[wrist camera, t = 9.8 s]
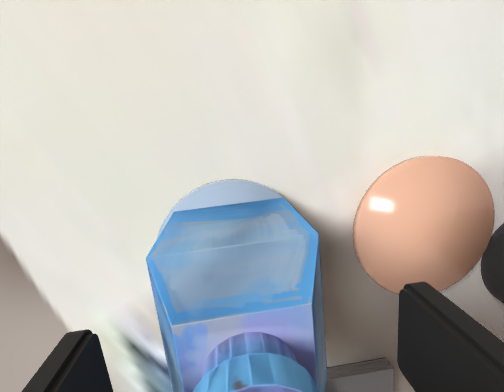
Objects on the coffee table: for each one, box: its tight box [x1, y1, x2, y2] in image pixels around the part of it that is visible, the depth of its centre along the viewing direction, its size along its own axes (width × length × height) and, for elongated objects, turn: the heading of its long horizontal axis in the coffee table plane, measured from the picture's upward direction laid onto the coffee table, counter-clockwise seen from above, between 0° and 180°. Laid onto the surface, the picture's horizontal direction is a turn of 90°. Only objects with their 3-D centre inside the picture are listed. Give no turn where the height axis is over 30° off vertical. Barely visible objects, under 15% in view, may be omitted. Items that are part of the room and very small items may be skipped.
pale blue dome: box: [157, 179, 292, 239], centre depth 18 cm, size 9×9×1 cm
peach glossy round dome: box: [353, 156, 494, 294], centre depth 19 cm, size 9×9×1 cm
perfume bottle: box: [146, 198, 327, 392], centre depth 11 cm, size 6×6×12 cm
